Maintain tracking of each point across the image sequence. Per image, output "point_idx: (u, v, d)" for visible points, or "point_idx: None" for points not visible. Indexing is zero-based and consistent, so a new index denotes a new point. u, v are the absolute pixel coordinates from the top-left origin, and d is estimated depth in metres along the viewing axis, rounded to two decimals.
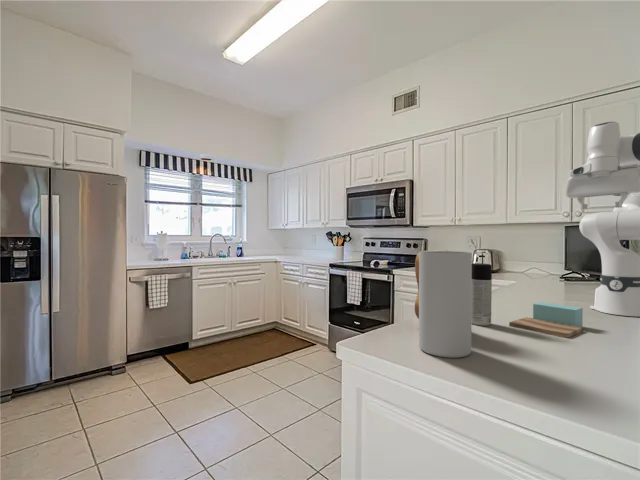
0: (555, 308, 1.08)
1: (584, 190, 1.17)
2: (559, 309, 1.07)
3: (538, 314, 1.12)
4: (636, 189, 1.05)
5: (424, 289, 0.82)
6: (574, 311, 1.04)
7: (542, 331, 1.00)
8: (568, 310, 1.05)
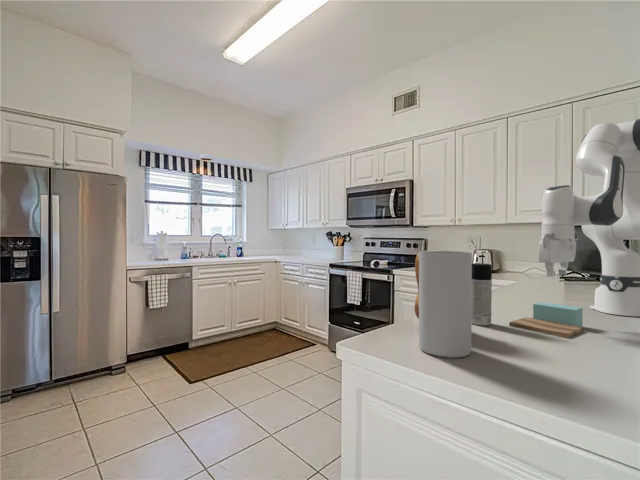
0: (555, 308, 1.08)
1: None
2: (559, 309, 1.07)
3: (538, 314, 1.12)
4: (539, 260, 1.06)
5: (424, 289, 0.82)
6: (574, 311, 1.04)
7: (542, 331, 1.00)
8: (568, 310, 1.05)
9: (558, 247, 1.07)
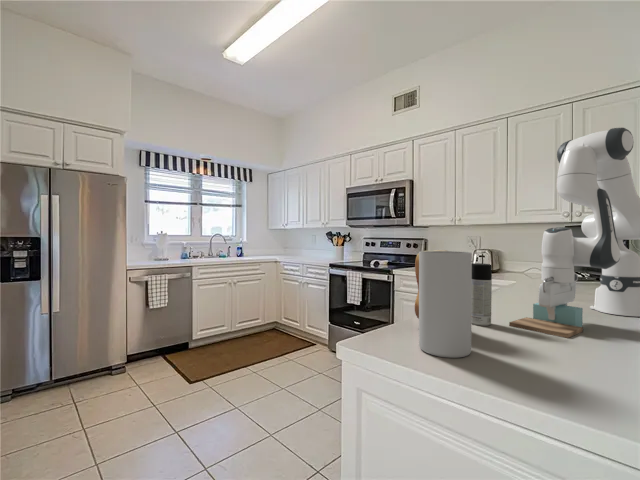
0: None
1: None
2: (559, 309, 1.07)
3: (538, 314, 1.12)
4: (539, 304, 1.06)
5: (424, 289, 0.82)
6: (574, 311, 1.04)
7: (542, 331, 1.00)
8: (568, 310, 1.05)
9: (558, 290, 1.07)
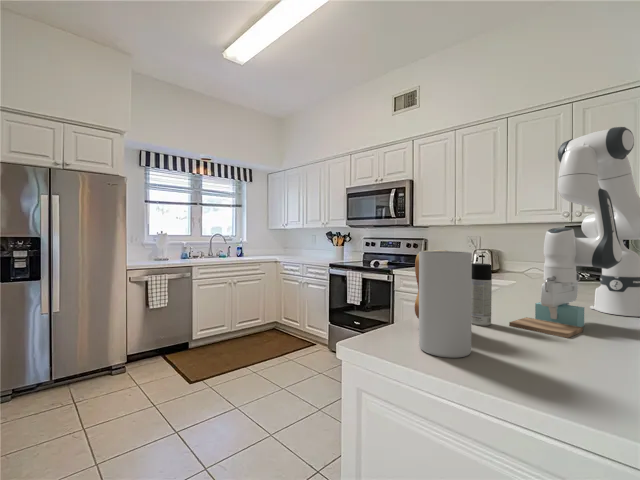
0: None
1: None
2: (561, 308, 1.08)
3: (540, 313, 1.13)
4: None
5: (424, 289, 0.82)
6: (576, 310, 1.05)
7: (542, 331, 1.00)
8: (570, 309, 1.06)
9: (560, 290, 1.08)
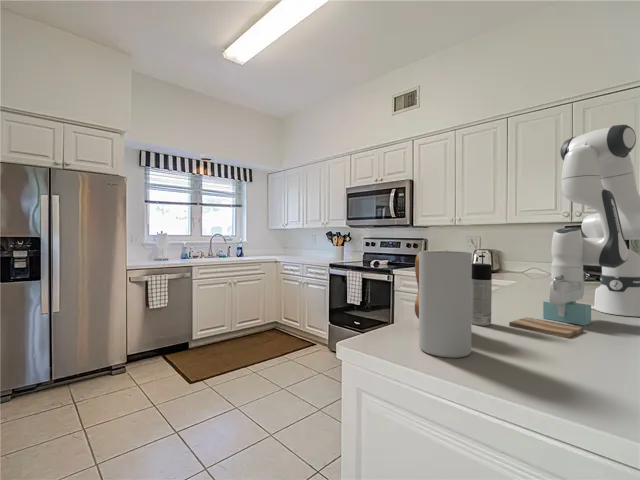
0: (565, 305, 1.13)
1: None
2: (568, 306, 1.12)
3: (548, 311, 1.17)
4: None
5: (424, 289, 0.82)
6: (583, 308, 1.08)
7: (542, 331, 1.00)
8: (577, 307, 1.10)
9: (568, 288, 1.12)
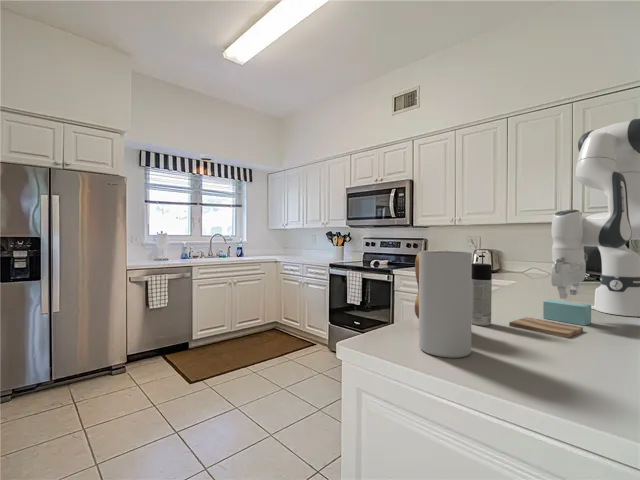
0: (565, 305, 1.13)
1: None
2: (569, 306, 1.12)
3: (548, 311, 1.17)
4: None
5: (424, 289, 0.82)
6: (583, 308, 1.08)
7: (542, 331, 1.00)
8: (577, 307, 1.10)
9: (569, 270, 1.12)
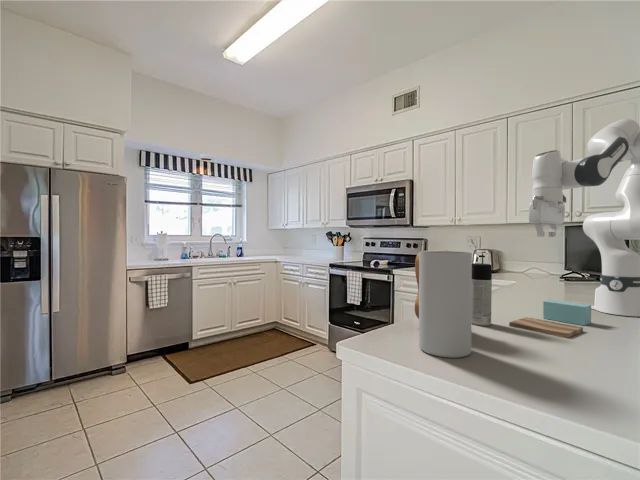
0: (565, 305, 1.13)
1: None
2: (569, 306, 1.12)
3: (548, 311, 1.17)
4: (529, 221, 1.13)
5: (424, 289, 0.82)
6: (583, 308, 1.08)
7: (542, 331, 1.00)
8: (577, 307, 1.10)
9: (547, 208, 1.14)
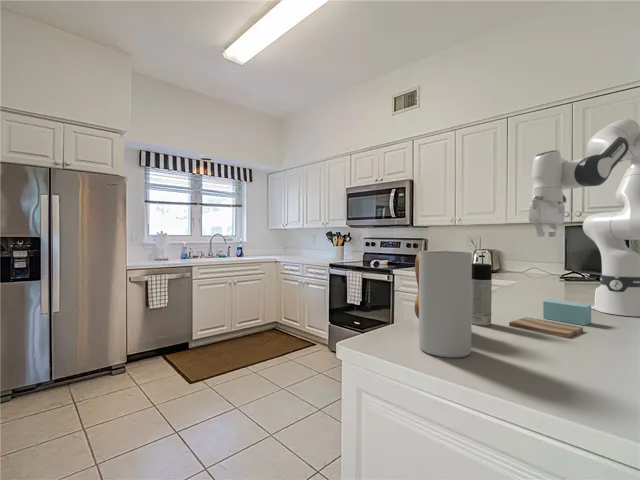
0: (565, 305, 1.13)
1: None
2: (569, 306, 1.12)
3: (548, 311, 1.17)
4: (529, 221, 1.13)
5: (424, 289, 0.82)
6: (583, 308, 1.08)
7: (542, 331, 1.00)
8: (577, 307, 1.10)
9: (547, 208, 1.14)
